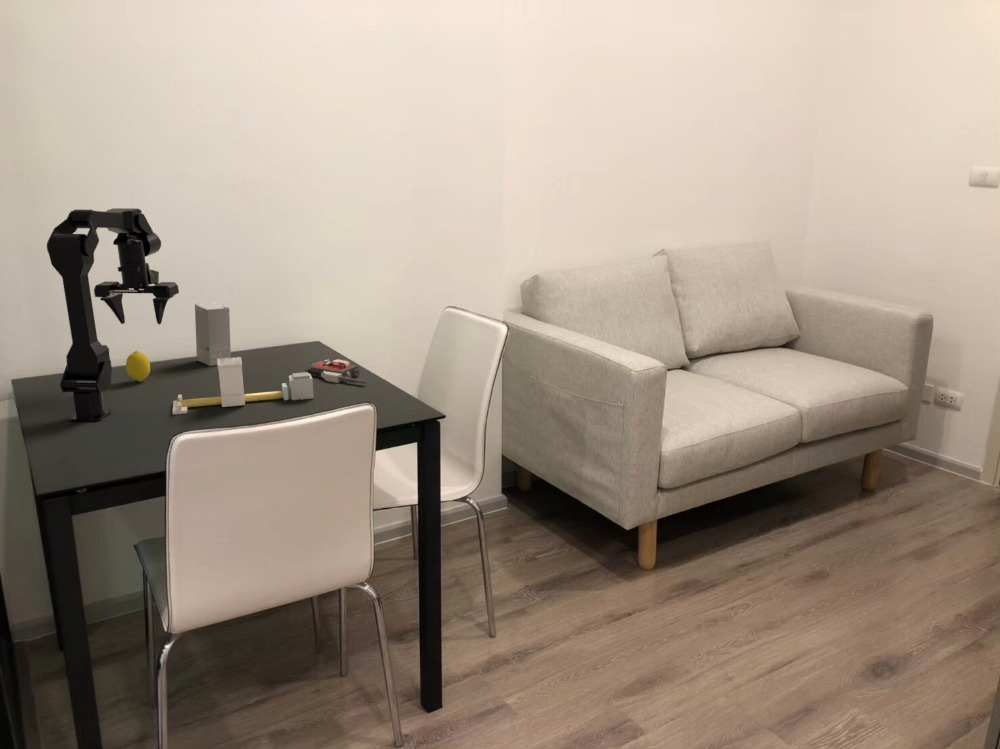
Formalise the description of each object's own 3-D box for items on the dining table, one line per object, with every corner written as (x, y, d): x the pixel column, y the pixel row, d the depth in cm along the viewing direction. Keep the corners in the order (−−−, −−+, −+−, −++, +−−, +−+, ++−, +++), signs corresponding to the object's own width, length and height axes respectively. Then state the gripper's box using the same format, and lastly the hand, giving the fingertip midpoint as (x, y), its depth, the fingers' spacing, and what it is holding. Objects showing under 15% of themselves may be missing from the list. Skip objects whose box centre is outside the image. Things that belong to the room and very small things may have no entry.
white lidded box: (221, 407, 189) (217, 366, 186) (221, 398, 195) (217, 358, 192) (245, 404, 190) (241, 364, 188) (244, 396, 196) (240, 356, 194)
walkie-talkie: (300, 378, 214) (363, 389, 205) (298, 361, 213) (362, 371, 204) (322, 370, 221) (384, 379, 212) (321, 353, 220) (383, 363, 211)
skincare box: (196, 361, 228) (190, 304, 224) (221, 356, 233) (215, 300, 229) (209, 367, 222) (204, 308, 218) (235, 362, 227) (229, 305, 223)
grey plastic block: (284, 401, 194) (282, 378, 193) (282, 395, 198) (280, 373, 197) (313, 398, 196) (312, 376, 195) (311, 392, 200) (310, 371, 199)
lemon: (156, 378, 212) (152, 348, 209) (145, 385, 206) (141, 354, 204) (135, 378, 212) (131, 347, 210) (123, 384, 207) (119, 353, 205)
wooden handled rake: (172, 414, 185) (171, 406, 184) (173, 403, 192) (173, 395, 192) (292, 402, 193) (292, 394, 192) (289, 392, 201) (288, 384, 200)
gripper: (184, 255, 208) (191, 316, 213) (111, 254, 209) (120, 315, 214) (164, 263, 197) (173, 327, 202) (88, 263, 198) (98, 326, 203)
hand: (141, 323), depth 206 cm, fingers open, 9 cm apart
